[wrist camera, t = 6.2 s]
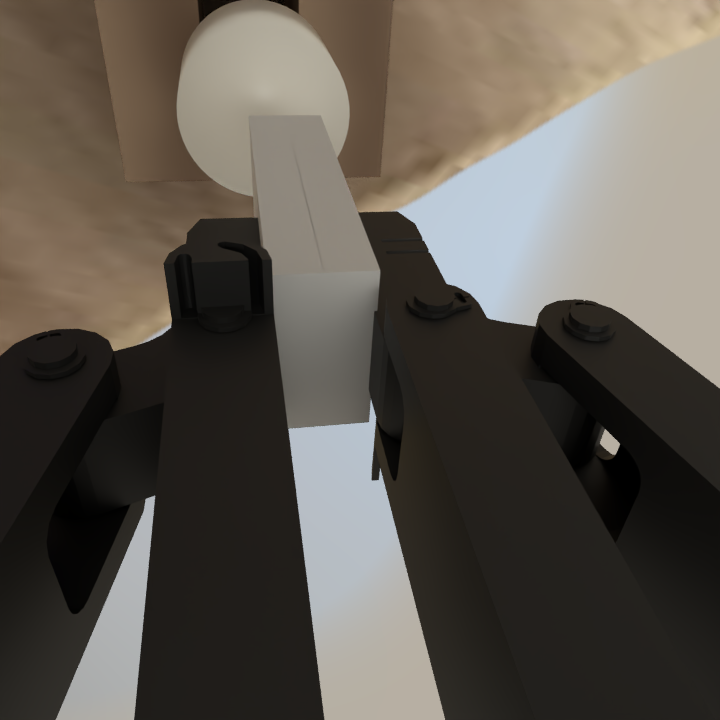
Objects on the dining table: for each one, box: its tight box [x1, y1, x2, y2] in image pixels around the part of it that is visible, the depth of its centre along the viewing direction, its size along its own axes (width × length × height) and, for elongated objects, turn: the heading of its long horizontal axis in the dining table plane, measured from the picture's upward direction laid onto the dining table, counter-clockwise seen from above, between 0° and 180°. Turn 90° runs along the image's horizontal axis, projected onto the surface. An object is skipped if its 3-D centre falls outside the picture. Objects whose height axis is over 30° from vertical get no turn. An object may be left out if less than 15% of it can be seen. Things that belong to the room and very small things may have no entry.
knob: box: [177, 0, 350, 196], centre depth 20 cm, size 4×4×9 cm
